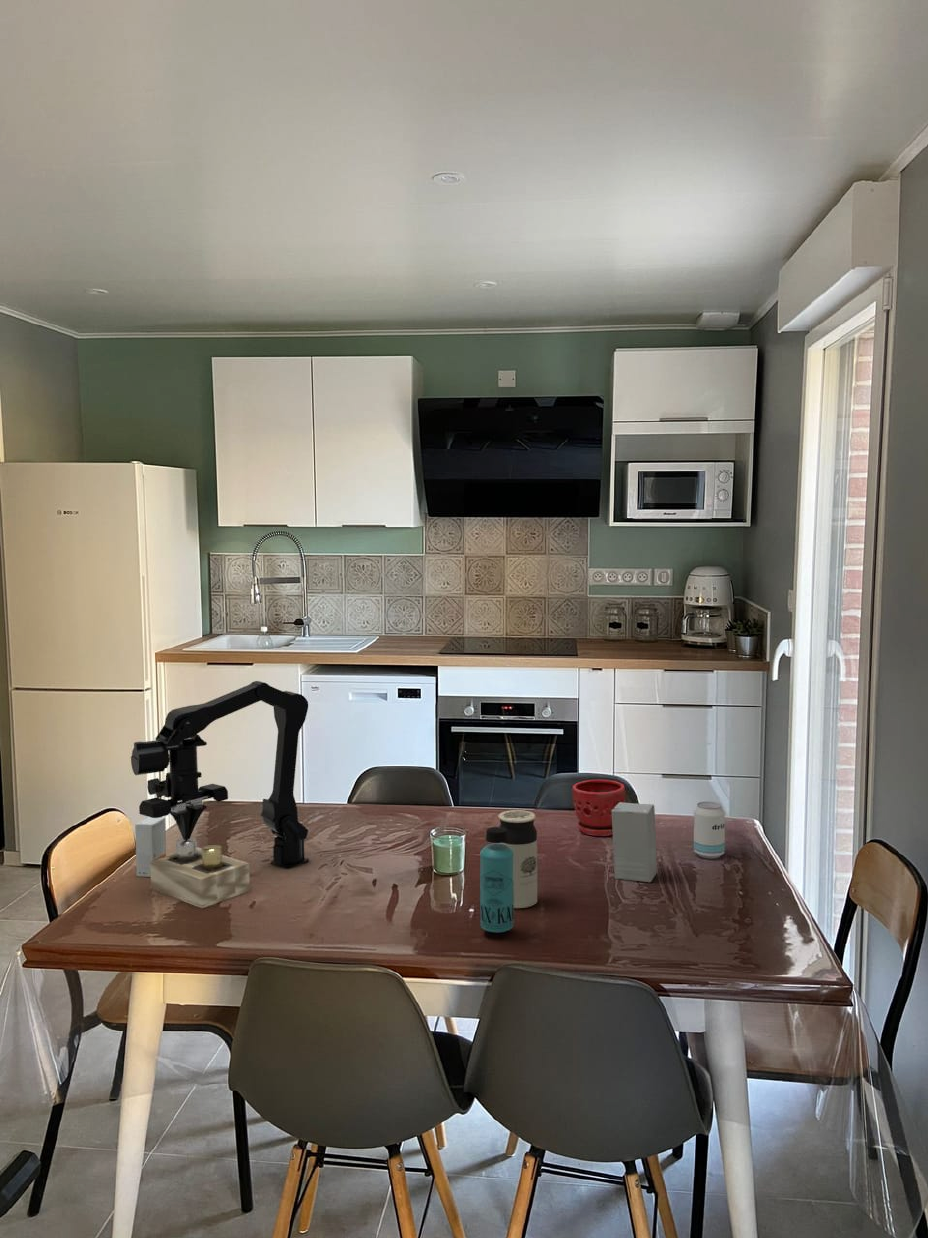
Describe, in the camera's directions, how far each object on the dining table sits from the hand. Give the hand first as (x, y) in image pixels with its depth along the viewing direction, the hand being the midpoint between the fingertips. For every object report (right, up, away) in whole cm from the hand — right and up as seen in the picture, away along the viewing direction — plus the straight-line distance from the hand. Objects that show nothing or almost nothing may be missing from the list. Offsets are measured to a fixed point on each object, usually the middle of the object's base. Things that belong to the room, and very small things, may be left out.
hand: (186, 839), depth 199 cm
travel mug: (+71, -10, -11) cm, 72 cm away
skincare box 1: (-10, -10, +9) cm, 17 cm away
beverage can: (+117, -8, +16) cm, 118 cm away
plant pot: (+94, -7, +35) cm, 101 cm away
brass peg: (+7, -6, -5) cm, 11 cm away
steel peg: (0, -6, 0) cm, 6 cm away
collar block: (+4, -10, -2) cm, 11 cm away
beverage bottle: (+66, -11, -26) cm, 72 cm away
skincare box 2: (+97, -9, +2) cm, 97 cm away
